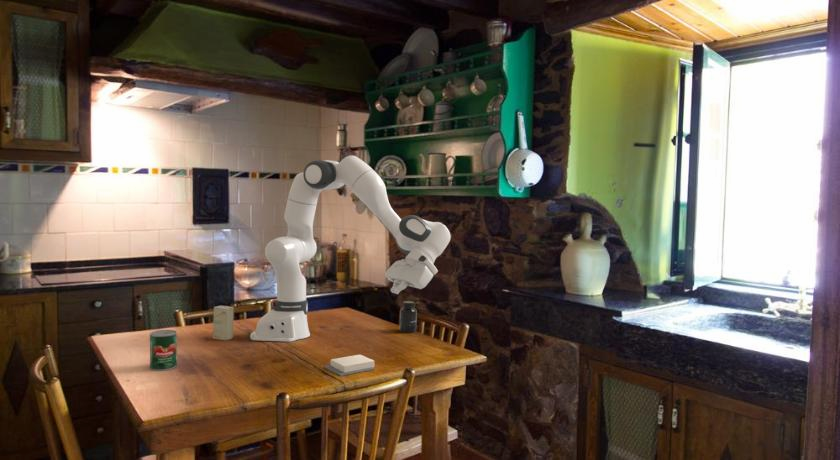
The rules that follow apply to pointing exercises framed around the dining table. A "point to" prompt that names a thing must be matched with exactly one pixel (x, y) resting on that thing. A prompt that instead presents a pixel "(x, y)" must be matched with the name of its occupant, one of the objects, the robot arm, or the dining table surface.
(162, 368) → the canned tomato
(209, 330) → the dining table surface
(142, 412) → the dining table surface
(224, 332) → the skincare box
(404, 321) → the supplement bottle
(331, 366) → the mat
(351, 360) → the tile
